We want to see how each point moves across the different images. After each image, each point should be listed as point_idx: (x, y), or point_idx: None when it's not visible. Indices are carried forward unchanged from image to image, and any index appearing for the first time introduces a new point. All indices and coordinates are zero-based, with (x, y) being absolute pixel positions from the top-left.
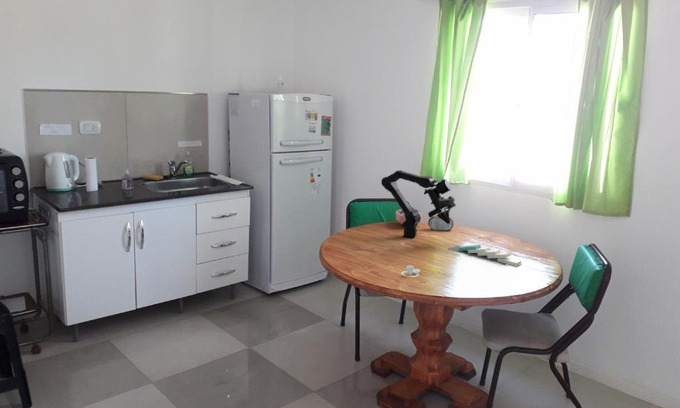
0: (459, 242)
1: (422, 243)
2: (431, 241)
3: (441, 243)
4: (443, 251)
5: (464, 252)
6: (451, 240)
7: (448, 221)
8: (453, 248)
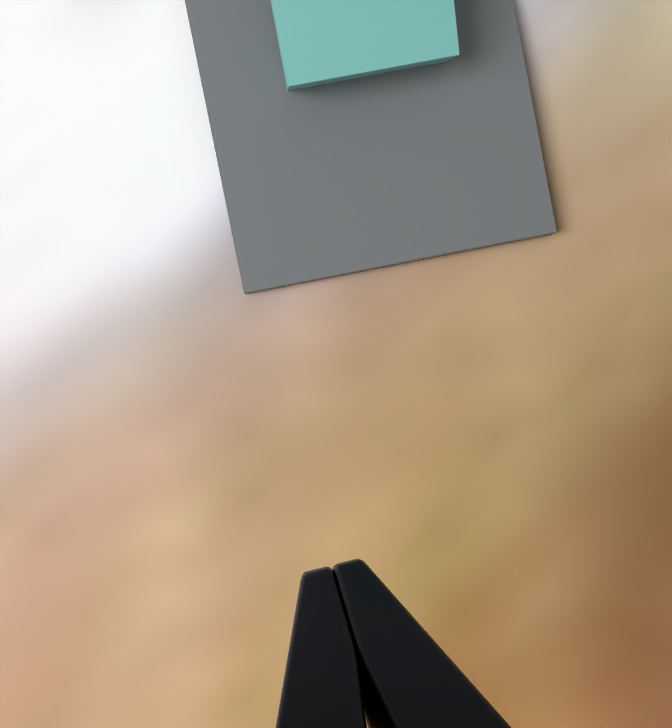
0: (26, 448)
1: (645, 698)
2: None
3: (359, 551)
4: (656, 206)
5: None
6: (63, 605)
7: (401, 617)
8: (435, 201)
